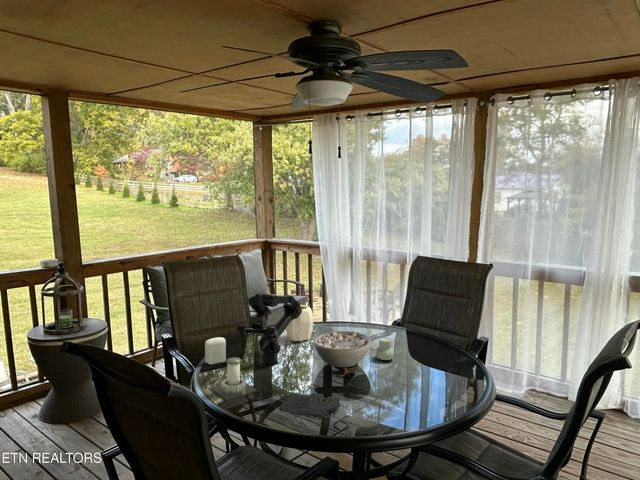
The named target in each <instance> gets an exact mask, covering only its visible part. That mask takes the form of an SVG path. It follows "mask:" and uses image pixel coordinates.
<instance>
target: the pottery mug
mask: <svg viewBox="0 0 640 480" xmlns="http://www.w3.org/2000/svg"><path fill="white" fill-rule="evenodd" d="M355 364H356V363H355ZM359 368H360V366H359V362H358V363H357V364H356V365H355V366H353V367H352V368H343V369H342V370H344V373H353V374H355V373H357V371H358V370H359Z"/></svg>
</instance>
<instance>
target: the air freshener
mask: <svg viewBox="0 0 640 480" xmlns="http://www.w3.org/2000/svg"><path fill="white" fill-rule="evenodd" d="M376 356H377V357H376ZM375 357H376V358H378V359H377V360H379V359H381V360H380V361H382V360H389V361H392V360H394V358H395V351H394V347H392V339H390V338H389V337H388V338H387V337H382V338H379V341H378V346H377V347H376V348H375ZM391 359H392V360H391Z"/></svg>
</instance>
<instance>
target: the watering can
mask: <svg viewBox="0 0 640 480" xmlns="http://www.w3.org/2000/svg"><path fill="white" fill-rule="evenodd" d="M308 304H309V302H307V301H306V302H305V304H300V306H301V308H302V313H301V314H300V316H299V317H298V318H296V319H294V320H292V321H291V322H290V323H289V325H288V326H287V327H286V329H285V331H286V335H287V338H288V339H289V340H290V341H291V340H292V341H291V342H297V341H302V342H304V341H303V340H307V339H308V340H310V339H311V336H312V333H313V327H314V314H313V313H314V312H313V310H312V308H311V307H310V306H309V305H308ZM308 340H307V341H308Z"/></svg>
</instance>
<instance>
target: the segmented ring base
mask: <svg viewBox="0 0 640 480" xmlns="http://www.w3.org/2000/svg"><path fill="white" fill-rule="evenodd" d="M246 382H247V380H246V379H245V378H243V377H240V384H239V385H235V386H230V385H228V378H225V379H223V380H222V381H221V384H220V385H216V386H212V387H210V390H211V391H212V392H213V391H214V392H213V393H214V394H216V395H218V396H219V397H220V396H221V397H220V398H222V399H223V400H224V399H225V402H228V400H229V401H232V400H234V399H238V398H241V397H245V396H247V395H250V394H254V393H257V392H258V390H257V389H256V388H254V387H253V386H251V385H249V384H248V383H246Z"/></svg>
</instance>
